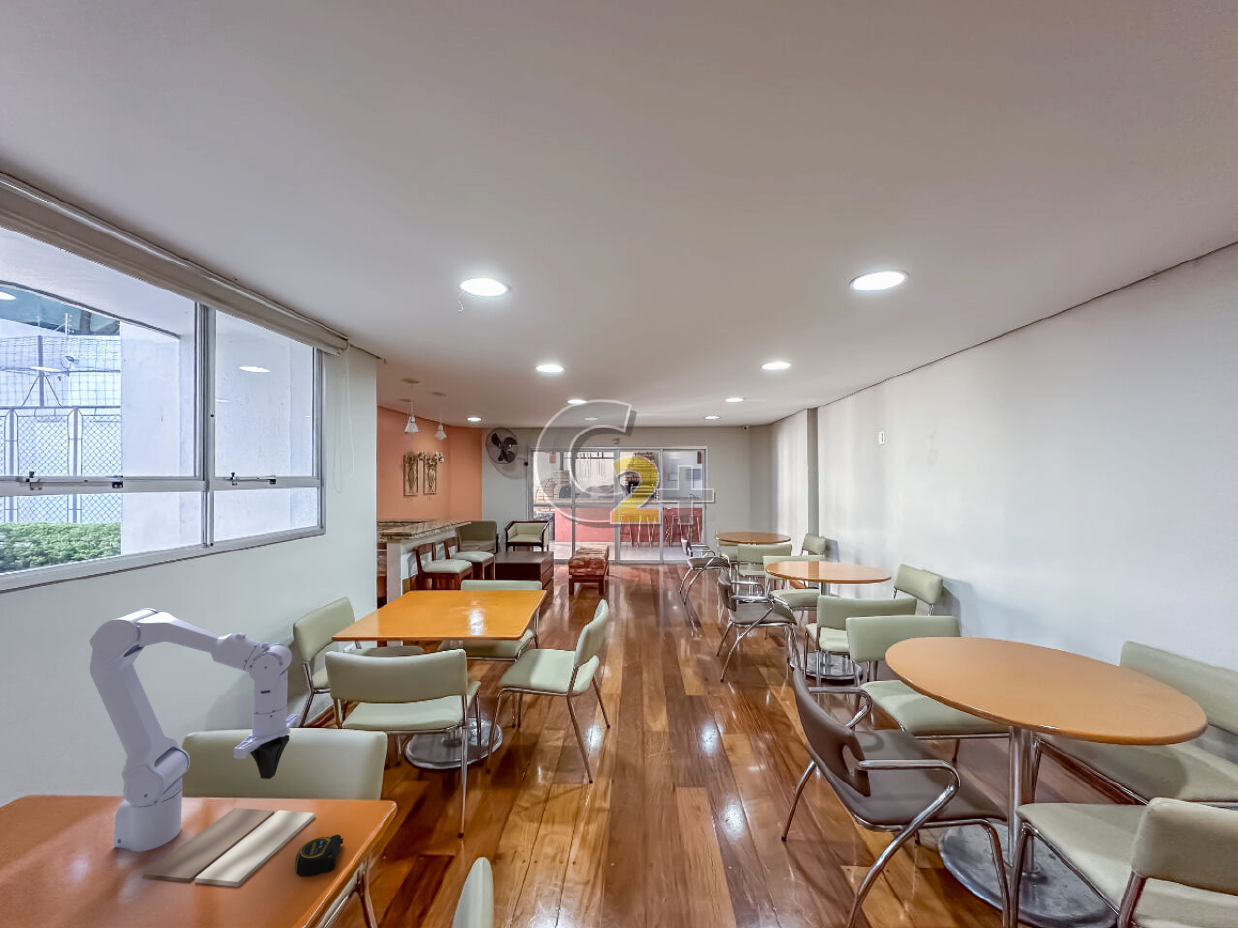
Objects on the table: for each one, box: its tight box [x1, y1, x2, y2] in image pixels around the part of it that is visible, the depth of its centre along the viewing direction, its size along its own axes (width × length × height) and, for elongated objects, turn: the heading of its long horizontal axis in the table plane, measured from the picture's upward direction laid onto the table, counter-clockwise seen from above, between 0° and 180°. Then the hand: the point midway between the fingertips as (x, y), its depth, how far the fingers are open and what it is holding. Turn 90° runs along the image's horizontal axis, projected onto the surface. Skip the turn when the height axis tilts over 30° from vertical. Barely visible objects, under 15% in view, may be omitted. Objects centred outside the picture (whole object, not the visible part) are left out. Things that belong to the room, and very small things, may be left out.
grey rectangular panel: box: [142, 807, 275, 883], centre depth 94 cm, size 9×18×2 cm, turn 173°
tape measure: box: [294, 834, 344, 878], centre depth 89 cm, size 7×7×4 cm
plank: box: [194, 809, 316, 888], centre depth 93 cm, size 8×18×2 cm, turn 174°
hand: (267, 776), depth 101 cm, fingers closed
